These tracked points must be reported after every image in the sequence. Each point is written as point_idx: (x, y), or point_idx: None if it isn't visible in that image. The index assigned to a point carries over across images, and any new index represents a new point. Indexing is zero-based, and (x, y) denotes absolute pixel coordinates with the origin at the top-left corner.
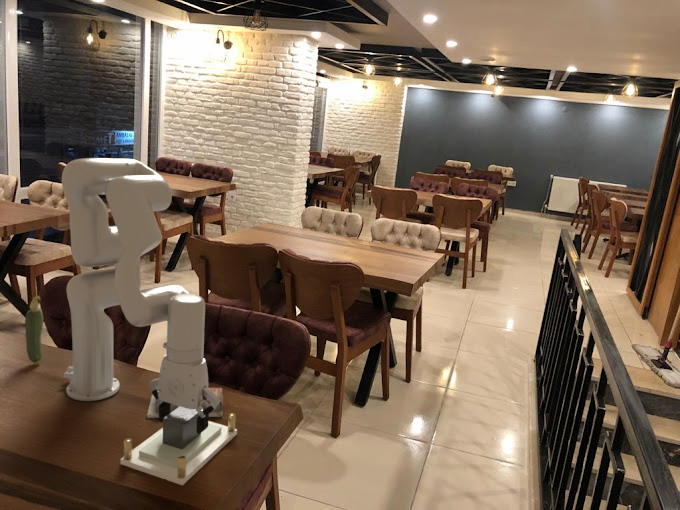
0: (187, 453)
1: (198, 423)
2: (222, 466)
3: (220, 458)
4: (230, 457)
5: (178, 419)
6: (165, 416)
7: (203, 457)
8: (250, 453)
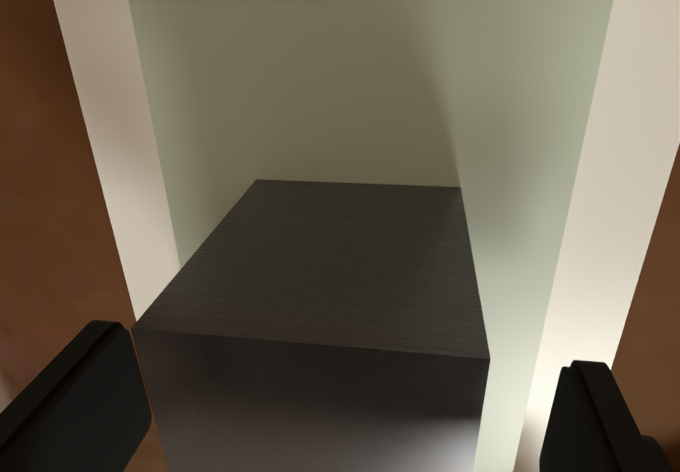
0: (183, 151)
1: (25, 405)
2: (32, 198)
3: (99, 259)
4: (66, 287)
5: (269, 399)
6: (561, 441)
7: (125, 198)
8: (20, 351)
